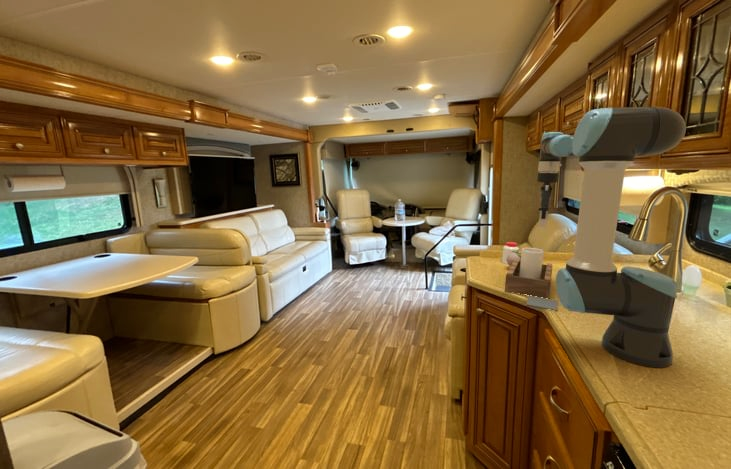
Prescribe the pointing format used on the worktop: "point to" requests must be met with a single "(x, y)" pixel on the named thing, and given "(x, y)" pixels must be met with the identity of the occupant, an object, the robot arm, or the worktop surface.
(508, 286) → the crate
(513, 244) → the pill bottle
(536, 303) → the panel
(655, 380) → the worktop surface
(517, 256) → the decorative fruit
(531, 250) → the cup
